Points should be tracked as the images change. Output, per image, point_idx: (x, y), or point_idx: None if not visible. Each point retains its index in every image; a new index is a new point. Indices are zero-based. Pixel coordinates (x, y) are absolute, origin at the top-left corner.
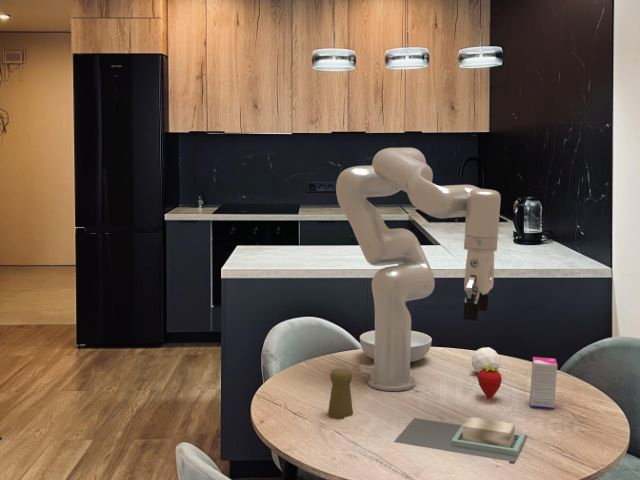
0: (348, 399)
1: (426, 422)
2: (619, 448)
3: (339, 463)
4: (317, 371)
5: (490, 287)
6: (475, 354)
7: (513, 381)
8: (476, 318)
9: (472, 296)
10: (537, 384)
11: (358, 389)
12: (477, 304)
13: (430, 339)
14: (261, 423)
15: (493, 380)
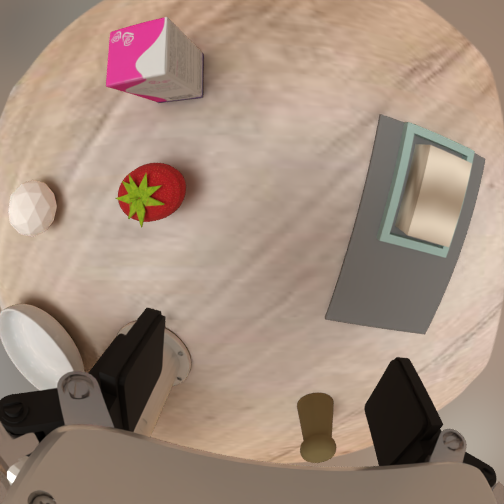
0: (326, 416)
1: (345, 299)
2: None
3: (466, 370)
4: None
5: (261, 490)
6: (31, 232)
7: (63, 148)
8: (409, 366)
9: (495, 475)
10: (187, 75)
11: (197, 392)
12: (439, 425)
13: (12, 310)
14: (351, 451)
15: (180, 182)
